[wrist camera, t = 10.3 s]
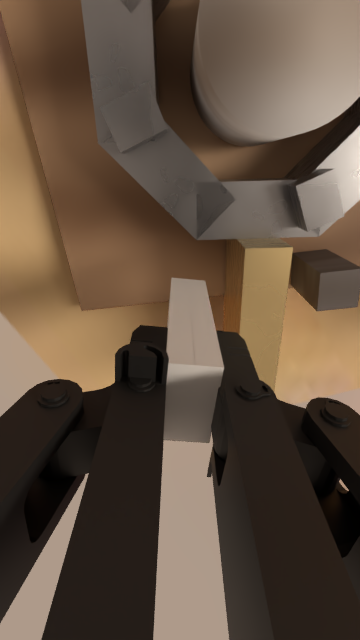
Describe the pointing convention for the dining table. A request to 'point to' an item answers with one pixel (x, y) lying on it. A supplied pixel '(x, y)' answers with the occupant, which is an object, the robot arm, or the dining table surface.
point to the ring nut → (203, 187)
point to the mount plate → (192, 136)
